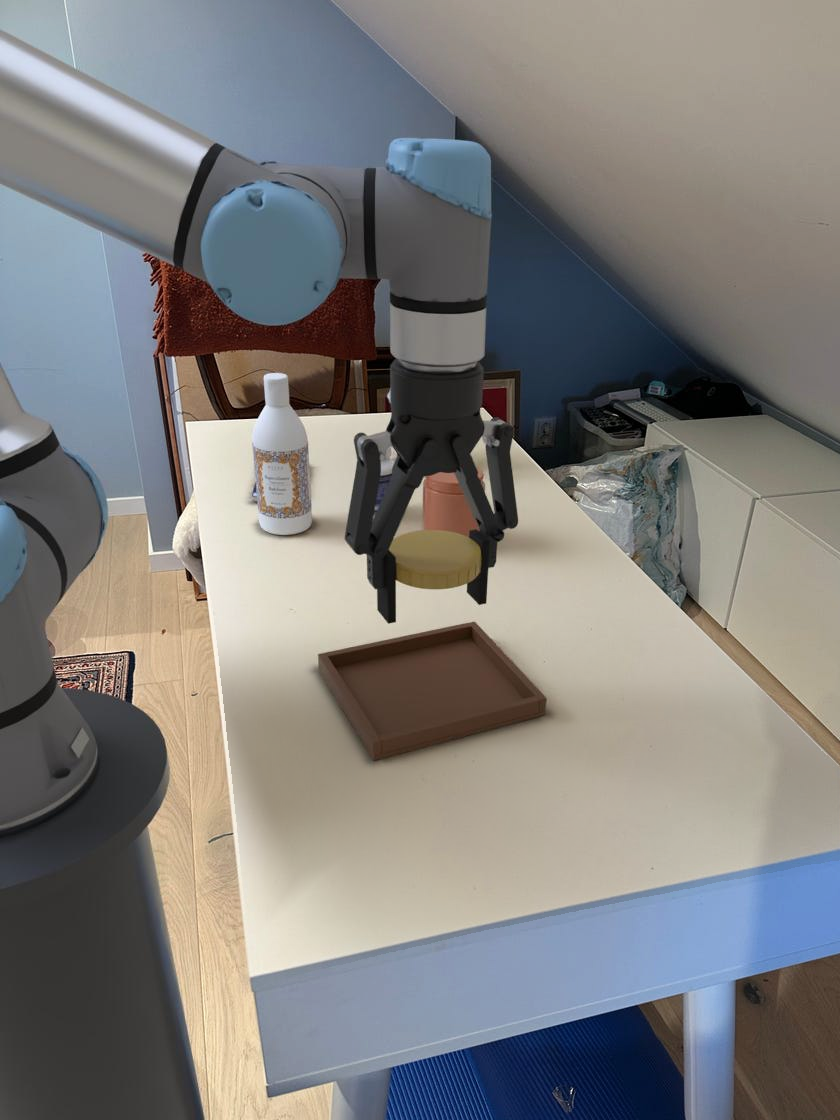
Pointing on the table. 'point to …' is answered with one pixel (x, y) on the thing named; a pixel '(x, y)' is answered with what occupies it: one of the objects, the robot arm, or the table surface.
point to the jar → (447, 504)
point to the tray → (428, 688)
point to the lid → (435, 559)
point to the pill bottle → (384, 478)
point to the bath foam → (281, 462)
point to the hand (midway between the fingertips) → (432, 606)
